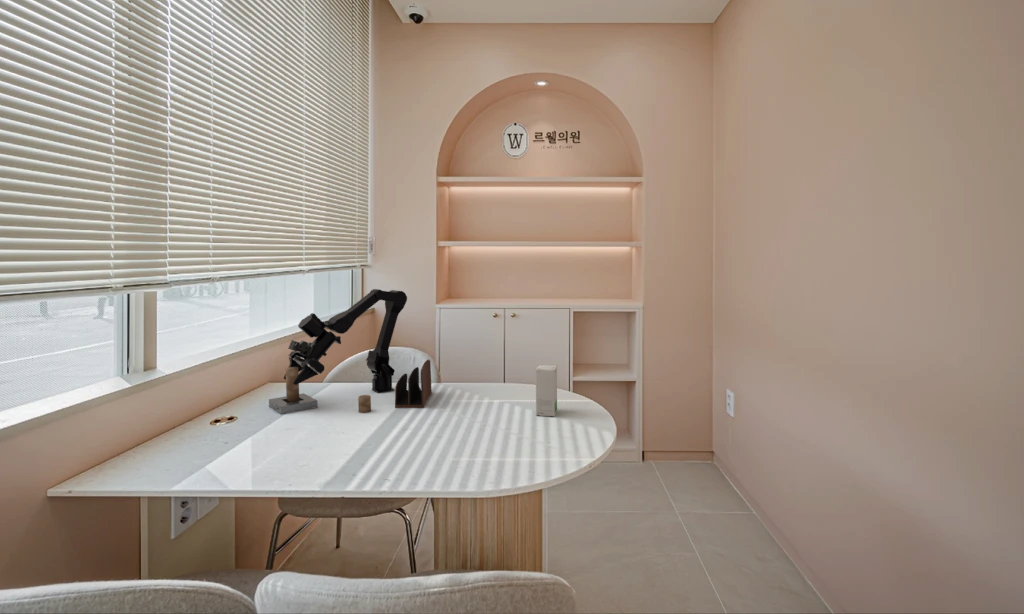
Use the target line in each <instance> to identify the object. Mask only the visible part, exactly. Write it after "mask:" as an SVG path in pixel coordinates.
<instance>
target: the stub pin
mask: <svg viewBox="0 0 1024 614" xmlns="http://www.w3.org/2000/svg"><path fill="white" fill-rule="evenodd" d="M371 397H372V396H371V395H369V394H363V395H362V394H361V395H359V396H358V398H357V401H358V403H357V404H358V413H360V414H367V413H371V411H372V406H371V405H372V398H371Z"/></svg>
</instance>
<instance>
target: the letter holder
mask: <svg viewBox="0 0 1024 614" xmlns="http://www.w3.org/2000/svg"><path fill="white" fill-rule="evenodd" d="M431 367H432V366H431V360H430V359H427V360H426V361H424V363H423V365H422V367H421V369H419V367H418V366H417V367H415V368H413V370H412V371H411V372H410V374H409V375H408V374H407V373H406V372H405V373H404V374H402V375H401V377H399V379H398V381H396V384H395V388H394V390H395V392H394V395H395V396H394V408H395V409H407V408H408V409H424V408H425V406H426V404H427V402H428V400H429V399H430V396H431V394H432V393H433V391H432V372H431V369H432V368H431ZM420 385H421V387H420Z"/></svg>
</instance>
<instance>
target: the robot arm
mask: <svg viewBox="0 0 1024 614" xmlns="http://www.w3.org/2000/svg"><path fill="white" fill-rule="evenodd" d="M379 301H383V302H384V306H385V314H384V317H383V321H382V324H381V327H380V330H379V335H378V338H377V342H376V345H375V347H374V348H373V350H368V353H367V354H368V355H367V358H366V359H365V361H366V366H367V368H368V369H369V370H370V372H371V373H372V374H373V375H372V377H373V378H372V382H371V383H372V384H371V385H372V386H371V387H372V388H371V390H372V391H374V392H376V393H386V392H391V391H394V390H395V388H393V376H394V375H395V374H394V373H395V369H394V368H393V367H392V366H391V365H390V364H389V363H390V354H389V348H390V345H391V341H392V338H393V334H394V332H395V327H396V324H397V321H398V316H399V314H400V313H401V312H402V310H403V309H404V308H405V305H406V304H407V301H408V296H407V294H406V293H405V292H404V291H402V290H397V289H396V290H395V289H391V290H389V291H387V290H382V289H378V288H377V289H376V288H373V289H371V291H369V293H367V294H366V295H365V296H363V297H362V298H360V299H359V301H357V302H356V303H354V304H353V305H352V306H350V307H349V308H348V309H346V310H345V311H342V312H340V313H337V314H334V316H331V317H330V318H329V319H327V320H325V321H322V319H320V318H319V317H318V316H317V315H316V314H315V312H312V313H310V314H309V315H307V316H306V317H304V318H302V319H301V320H300V321H299V323H298V328H299V329H300V330H301V331H303V333H305V334H306V335H307V336H308V337H309V338H311V339H312V338H315V339H314V340H313V341H312V342H308V341H305V340H301V341H296V340H293V339H292V340H291V341H290V343H289V346H288V348H287V349H289V350H291V352H290V353H289V354H288V361H289V366H288V367H287V368H289V367H298V376H297V378H296V379H295V381H294V382H293V384H295V385H297V384H299V385H300V384H301V383H302V382H304V381H307V380H309V379H310V378H313V377H315V376H318V375H322V373H324V371H325V365H324V364H323V363H322V362H320V360H321V358H322V357H326V356H327V355H328V354H327V352H328V350H329V349H330V348H331V347H332V346H333V344H334V343H335V344H337V345H341V344H342V341H341V340H342V339H341V335H336V334H334V333H337V334H342V335H343V334H345V333H347V332H348V331H349V330H350V329H351V328H352V327H353V325H354V323H355V321H356V320H357V319H359V317H361V316H362V315H363V314H364V313H366V312H367V311H368V310H369V309H370V308H372V307H373V306H374V305H376V304H377V303H378V302H379ZM328 330H329V331H328ZM283 379H284V380H285V381H286V373H285V374H284V376H283Z"/></svg>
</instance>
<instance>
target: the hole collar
mask: <svg viewBox="0 0 1024 614" xmlns="http://www.w3.org/2000/svg"><path fill="white" fill-rule="evenodd" d="M268 407H269V408H271V409H272V410H273V411H276V412H277V413H278V414H279V415H284V414H286V415H287V414H291V413H294V412H300V411H306V409H307V410H310V409H316V408H318V399H316V398H314V397H311V395H308V394H306V393H304V392H303V393H299V401H296V402H290V403H287V395H286V396H281V397H275V398H269V399H268Z"/></svg>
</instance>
